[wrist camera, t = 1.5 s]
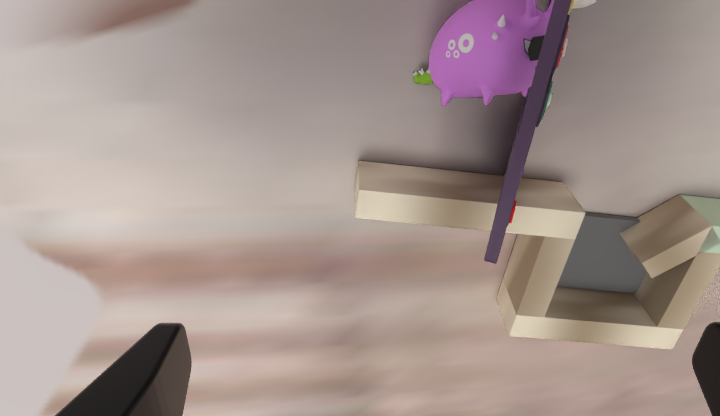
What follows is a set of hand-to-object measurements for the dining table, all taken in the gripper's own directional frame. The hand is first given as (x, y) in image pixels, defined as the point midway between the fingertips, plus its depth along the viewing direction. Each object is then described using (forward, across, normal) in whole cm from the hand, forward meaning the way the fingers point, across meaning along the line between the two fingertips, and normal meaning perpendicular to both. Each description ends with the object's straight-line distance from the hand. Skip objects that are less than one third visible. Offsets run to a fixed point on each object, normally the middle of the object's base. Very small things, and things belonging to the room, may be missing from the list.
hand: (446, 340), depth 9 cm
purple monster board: (+13, -3, -1) cm, 13 cm away
